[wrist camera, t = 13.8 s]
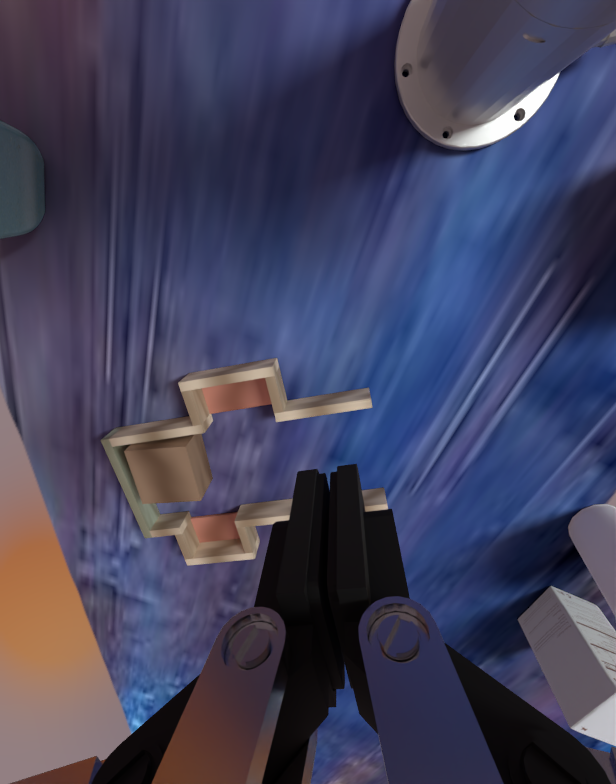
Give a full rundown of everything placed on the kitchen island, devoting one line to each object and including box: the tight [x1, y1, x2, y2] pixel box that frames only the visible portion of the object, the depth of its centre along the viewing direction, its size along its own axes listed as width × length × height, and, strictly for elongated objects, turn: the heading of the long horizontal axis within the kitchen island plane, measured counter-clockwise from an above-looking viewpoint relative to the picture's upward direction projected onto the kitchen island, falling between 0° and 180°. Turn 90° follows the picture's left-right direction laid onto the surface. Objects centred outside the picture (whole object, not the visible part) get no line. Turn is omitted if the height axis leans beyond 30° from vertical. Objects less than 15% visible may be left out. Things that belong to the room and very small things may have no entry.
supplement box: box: [518, 586, 616, 746], centre depth 44 cm, size 7×7×13 cm
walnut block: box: [124, 434, 213, 504], centre depth 43 cm, size 7×7×4 cm
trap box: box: [101, 358, 388, 565], centre depth 43 cm, size 30×24×3 cm
